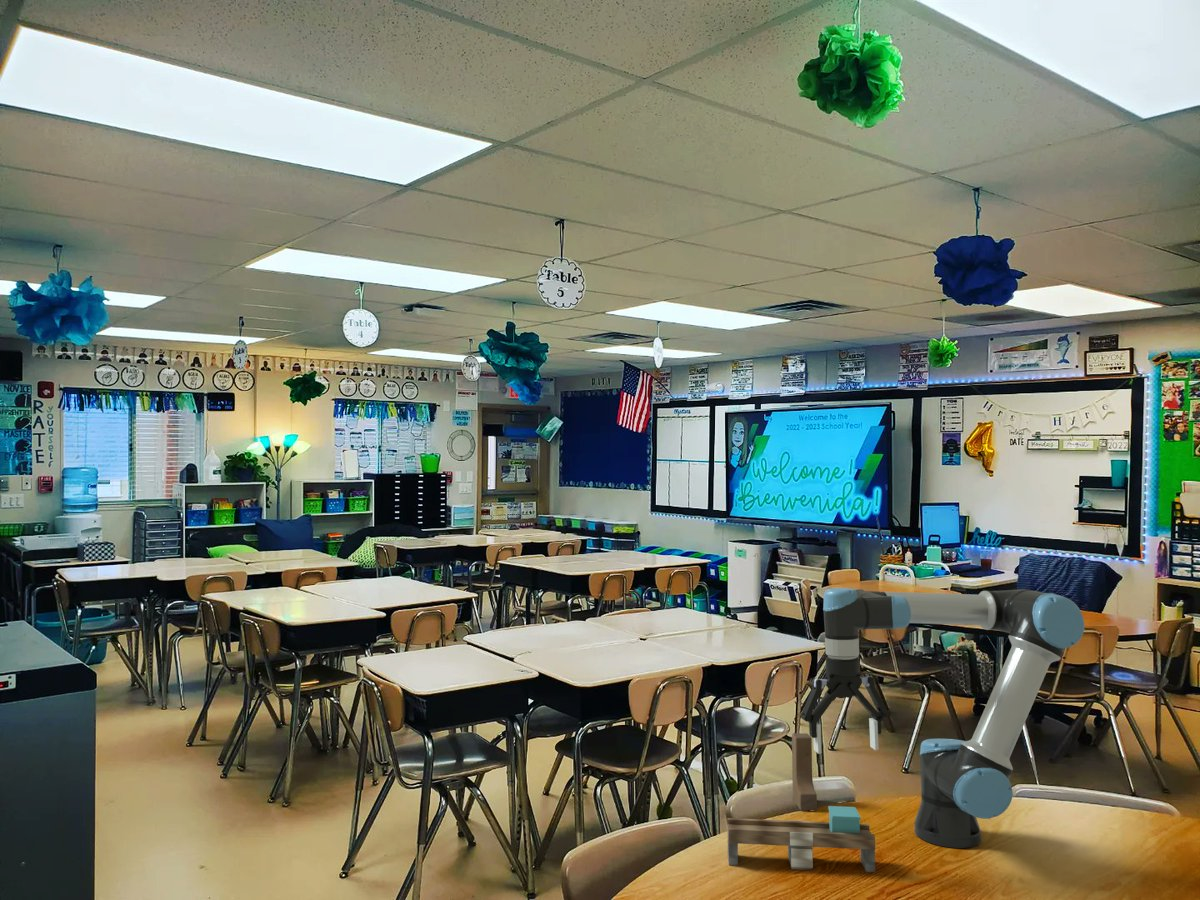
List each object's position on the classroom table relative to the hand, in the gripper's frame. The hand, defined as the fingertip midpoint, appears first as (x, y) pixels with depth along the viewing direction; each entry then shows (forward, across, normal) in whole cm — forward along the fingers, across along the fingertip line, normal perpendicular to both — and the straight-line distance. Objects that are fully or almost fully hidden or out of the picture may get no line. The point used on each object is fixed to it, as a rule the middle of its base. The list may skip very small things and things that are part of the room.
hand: (846, 750), depth 194 cm
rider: (+18, +2, +2) cm, 18 cm away
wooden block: (+25, -3, -36) cm, 44 cm away
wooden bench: (+24, +12, -1) cm, 27 cm away
